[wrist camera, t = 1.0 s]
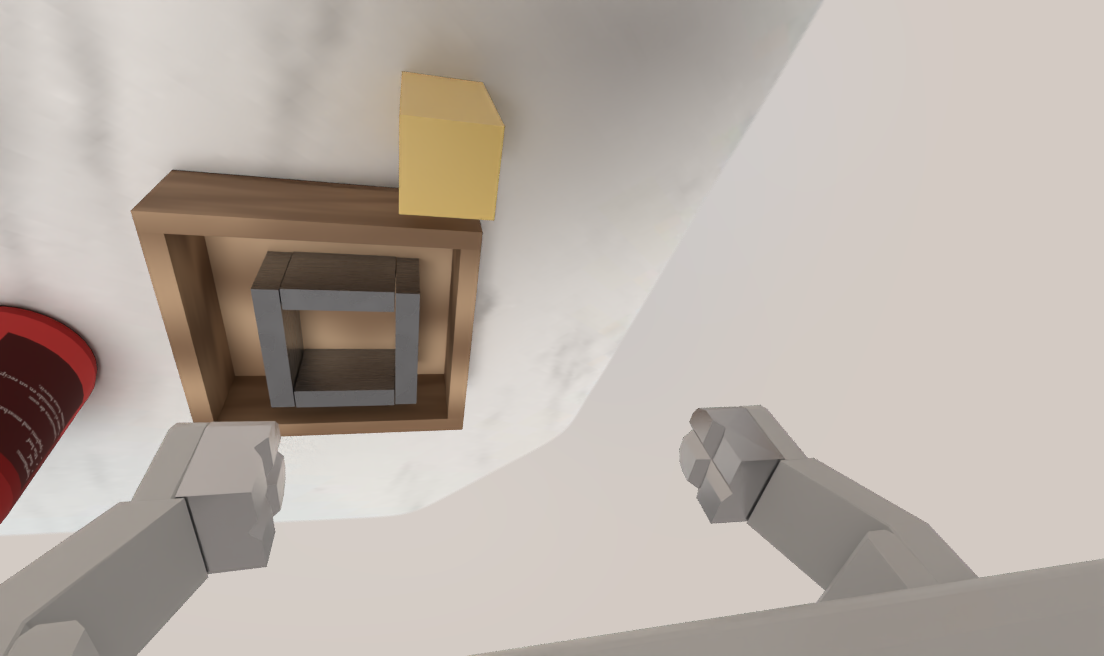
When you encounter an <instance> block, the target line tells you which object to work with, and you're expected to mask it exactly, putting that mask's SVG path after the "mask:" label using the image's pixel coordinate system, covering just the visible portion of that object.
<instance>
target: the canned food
mask: <svg viewBox="0 0 1104 656" xmlns="http://www.w3.org/2000/svg"><path fill="white" fill-rule="evenodd" d="M96 373H97V365H96V359H95V357H94V355H93V352H92V350H91V349H90V348H89V346H88V345H87V344H86V342H85V341H84V340H83V339H82V338H81V337H80V336H79V335H77V334H76V333H75V332H74V331H72V330H71V329H69V328H68V327H66V326H65V325H63V324H62V323H60V322H58V321H56V320H54V319H52V318H50V317H47V316H44V315H42V314H39V313H36V312H33V311H29V310H24V309H20V308H15V307H5V306H0V524H1V523H2V521H3V520H4V519H5V518H6V516H7V515H8V514H9V512H10V511H11V509H12V508H13V506H14V505H15V503H16V502H17V501H18V499H19V498H20V496H21V495H22V493H23V492H24V490H25V489H26V487H27V486H28V485H29V483H30V482H31V480H32V479H33V477H34V476H35V474H36V473H37V471H38V470H39V469H40V467H41V466H42V464H43V463H44V461H45V460H46V458H47V457H48V455H49V454H50V453H51V451H52V450H53V448H54V447H55V445H56V444H57V442H58V441H59V439H60V438H61V437H62V435H63V434H64V432H65V431H66V429H67V428H68V426H69V425H70V423H71V422H72V421H73V419H74V418H75V416H76V415H77V413H78V412H79V410H80V409H81V407H82V406H83V405H84V403H85V402H86V400H87V399H88V397H89V396H90V394H91V392H92V390H93V389H94V385H95V379H96Z"/></svg>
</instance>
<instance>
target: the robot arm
mask: <svg viewBox="0 0 1104 656" xmlns="http://www.w3.org/2000/svg"><path fill="white" fill-rule="evenodd" d="M690 424H691V427H692V428H693V430H691V431H690V432H689V433H688V434H687V435H686V436H684V437H683V440H682V443H681V446H680V449H679V450H680V451H679V452H680V464H681V468H682V471H683V473H684V475H685V477H686V479H687V481H689V482H690V483H691V484H693V485H694V486H696V487H697V488H698V493H697V499H698V501H699V503H700V504H701V506H702V508H703V510H704V512H705V514H706V515H707V517H708V519H709V521H710V523H711V524H712V523H727V522H742V521H748V522H747V524H748V525H750V526H751V527H752V528H753V529H754V530H755V531H757V532H758V533H759V534H760V535H761V536H762V537H763V538H765V539H766V540H767V541H768V542H769V543H771V544H772V545H773V546H774V547H775V548H776V549H778V550H779V551H780V552H781V553H782V554H783V555H785V556H786V557H787V558H788V559H789V560H790V561H791V562H793V563H794V564H795V565H796V566H797V567H798V568H800V569H801V570H802V571H803V572H804V573H806V574H807V575H808V576H809V577H810V578H811V579H812V580H814V581H815V582H816V583H817V584H818V585H819V586H821V587H822V588H823V589H824V590H825V591H824V593H823V594H822V596H821V597H820V598H819V600H818V601H817V602H816V603H810V604H804V605H798V606H790V607H784V608H777V609H771V610H764V611H757V612H751V613H744V614H738V615H732V616H725V617H719V618H711V619H705V620H699V621H692V622H685V623H679V624H672V625H666V626H659V627H653V628H646V629H639V630H633V631H626V632H620V633H614V634H607V635H600V636H594V637H587V638H581V639H574V640H568V641H561V642H555V643H548V644H541V645H535V646H528V647H522V648H515V649H508V650H502V651H495V652H489V653H482V654H476V655H469V656H1104V559H1099V560H1092V561H1086V562H1079V563H1073V564H1066V565H1060V566H1053V567H1047V568H1040V569H1033V570H1027V571H1021V572H1014V573H1007V574H1001V575H994V576H987V577H981V578H979V577H978V576H977V575H976V574H975V573H974V572H973V571H972V570H971V569H970V568H969V567H968V566H967V565H966V564H965V562H963V560H962V559H961V558H960V557H959V556H958V555H957V554H956V553H955V552H954V551H953V550H952V549H951V548H950V547H949V545H947V543H946V542H945V541H944V540H943V539H942V538H941V537H940V536H939V535H938V534H937V533H936V532H935V531H934V529H932V527H931V526H930V525H929V524H928V523H926V522H924V521H922V520H921V519H919V518H917V517H916V516H914V515H912V514H910V513H909V512H907V511H905V510H903V509H902V508H900V507H898V506H897V505H895V504H893V503H891V502H890V501H888V500H886V499H884V498H883V497H881V496H879V495H877V494H875V493H874V492H872V491H870V490H869V489H867V488H865V487H863V486H861V485H860V484H858V483H857V482H855V481H853V480H851V479H849V478H848V477H846V476H844V475H843V474H841V473H839V472H837V471H836V470H834V469H832V468H830V467H829V466H827V465H825V464H824V463H822V462H820V461H818V460H816V459H815V458H807V457H806V455H805V454H804V453H803V452H802V451H801V449H800V448H799V447H798V446H797V444H796V443H795V442H794V441H793V440H792V438H791V437H790V436H789V435H788V434H787V432H786V431H785V430H784V429H783V428H782V427H781V425H780V424H779V423H778V421H777V420H776V419H775V418H774V417H773V415H772V414H771V413H770V412H769V411H768V410H767V409H766V408H765V407H763V406H761V405H754V406H739V407H714V408H698V409H697V410H696V411H695V412H694V413H693V414H692V417H691V419H690ZM280 439H281V435H280V430H279V425H278V423H277V422H276V421H242V422H211V423H176V424H175V425H174V426H172V427H171V428H170V429H169V430H168V432H167V434H166V436H165V438H164V440H163V442H162V443H161V445H160V447H159V449H158V451H157V453H156V455H155V457H154V459H153V460H152V462H151V464H150V466H149V468H148V470H147V472H146V474H145V475H144V477H143V479H142V481H141V483H140V485H139V487H138V489H137V490H136V492H135V494H134V496H133V498H132V500H131V501H129V502H119V503H118V504H116V505H115V506H113V507H112V508H110V509H109V510H107V511H106V512H105V513H103V514H102V515H100V516H99V517H97V518H96V519H94V520H93V521H91V522H90V523H89V524H87V525H86V526H84V527H83V528H81V529H80V530H78V531H77V532H76V533H74V534H73V535H71V536H70V537H68V538H67V539H66V540H64V541H63V542H61V543H60V544H58V545H57V546H55V547H54V548H53V549H51V550H50V551H48V552H47V553H45V554H44V555H42V556H41V557H39V558H38V559H36V560H35V561H34V562H32V563H31V564H30V565H28V566H26V567H25V568H23V569H22V570H21V571H19V572H18V573H16V574H15V575H13V576H12V577H10V578H9V579H7V580H6V581H5V582H3V583H2V584H0V656H137V654H138V653H139V652H140V651H141V650H142V649H143V648H144V647H145V646H146V645H147V644H148V642H149V641H150V640H151V639H152V638H153V637H154V636H155V635H156V634H157V633H158V631H159V630H160V629H161V628H162V627H163V626H164V625H165V624H166V623H167V622H168V620H169V619H170V618H171V617H172V616H173V615H174V614H175V613H176V612H177V611H178V609H180V607H181V606H182V605H183V604H184V603H185V602H186V601H187V600H188V599H189V597H191V595H192V594H193V593H194V592H195V591H196V590H197V589H198V588H199V587H200V586H201V584H202V583H203V582H204V581H205V580H206V579H207V578H208V574H212V573H220V572H228V571H236V570H245V569H253V568H261V567H267V563H268V559H269V555H270V551H271V547H272V543H273V539H274V534H275V528H274V522H273V516H274V515H275V514H277V513H278V512H279V511H280V510H281V506H282V501H283V497H284V488H285V462H284V456H283V455H282V454H280V453H279V452H278V447H279V443H280Z"/></svg>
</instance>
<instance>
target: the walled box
mask: <svg viewBox="0 0 1104 656" xmlns="http://www.w3.org/2000/svg"><path fill="white" fill-rule="evenodd" d="M131 213H132V217H133V220H134V224H135V227H136V230H137V234H138V237H139V240H140V244H141V247H142V251H143V254H144V257H145V261H146V264H147V267H148V271H149V274H150V278H151V281H152V284H153V288H154V291H155V294H156V298H157V301H158V305H159V308H160V311H161V315H162V318H163V321H164V325H165V328H166V332H167V335H168V338H169V342H170V345H171V348H172V352H173V355H174V359H175V362H176V365H177V369H178V372H179V375H180V379H181V382H182V386H183V389H184V392H185V396H186V399H187V402H188V406H189V409H190V413H191V416H192V419H193V423H211V422H242V421H276V422H277V423H278V425H279V430H280V435H281V436H304V435H331V434H357V433H383V432H409V431H435V430H462V428H463V419H464V409H465V399H466V389H467V380H468V370H469V360H470V350H471V341H472V331H473V321H474V311H475V301H476V292H477V282H478V272H479V262H480V253H481V243H482V233H483V232H482V228H481V224H480V220H479V219H464V218H450V217H435V216H420V215H406V214H399V188H389V187H376V186H364V185H352V184H339V183H327V182H315V181H302V180H290V179H277V178H265V177H253V176H240V175H228V174H216V173H203V172H191V171H179V170H172V171H171V172H170V173H169V174H168V175H167V176H166V177H165V178H164V179H162V180H161V181H160V182H159V183H158V184H157V185H156V186H155V187H154V188H153V189H152V190H151V191H150V192H149V193H148V194H147V195H146V196H145V197H144V198H143V199H142V200H141V201H140V202H139V203H138V204H137V205H136V206H135V207H134V208H133V209H132V210H131ZM267 251H273V252H292V254H293V251H294V252H315V253H336V254H357V255H378V256H396V271H397V257H400V258H419V278H420V308H419V339H418V370H417V401H416V404H395V399H394V405H377V406H336V407H296V405H295V407H271V402H270V397H269V391H268V386H267V380H266V374H265V369H264V363H263V357H262V352H261V346H260V340H259V335H258V329H257V323H256V318H255V312H254V306H253V301H252V295H251V290H250V289H251V287H252V285H253V282H254V280H255V278H256V276H257V273H258V271H259V269H260V267H261V265H262V262H263V260H264V258H265V256H266V254H267ZM299 313H300V321H301V329H302V338H303V346H304V350H305V349H395V338H396V284H395V308H394V312H368V311H319V310H299Z"/></svg>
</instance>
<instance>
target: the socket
mask: <svg viewBox="0 0 1104 656" xmlns="http://www.w3.org/2000/svg"><path fill="white" fill-rule="evenodd" d="M395 284H396V338H395V349H305V350H304V346H303V338H302V329H301V321H300V313H299V310H319V311H368V312H394V308H395ZM250 290H251V295H252V301H253V306H254V312H255V318H256V323H257V329H258V335H259V340H260V346H261V352H262V357H263V363H264V369H265V374H266V380H267V386H268V391H269V397H270V402H271V407H295V405H296V407H336V406H377V405H394V399H395V404H416V401H417V370H418V339H419V308H420V278H419V258H400V257H397V271H396V256H378V255H357V254H336V253H315V252H294V251H293V254H292V252H273V251H267V254H266V256H265V258H264V260H263V262H262V265H261V267H260V269H259V271H258V273H257V276H256V278H255V280H254V282H253V285H252V287H251V289H250Z"/></svg>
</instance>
